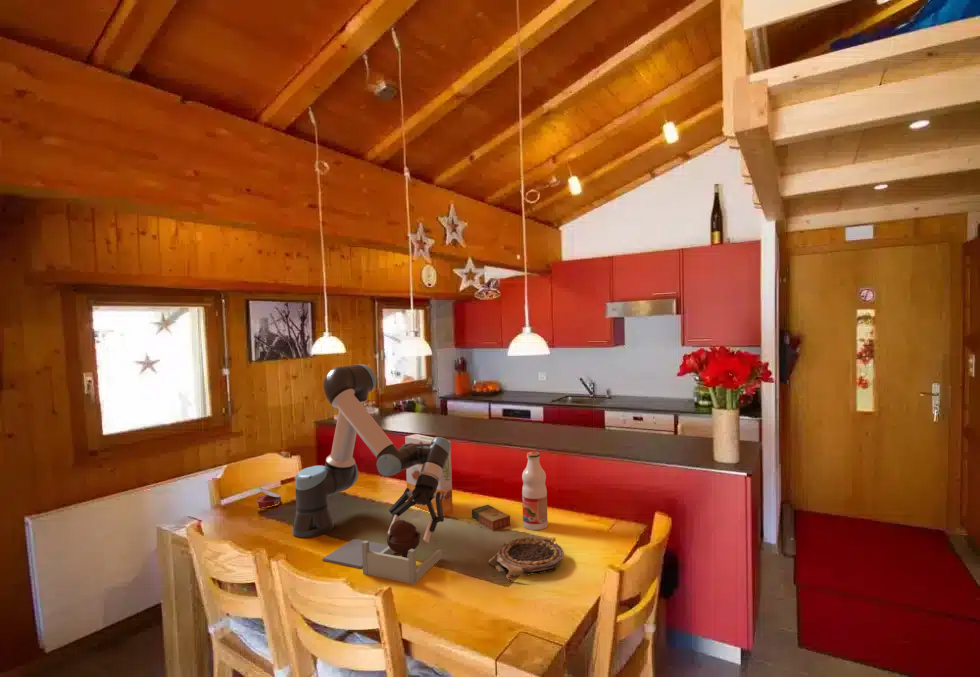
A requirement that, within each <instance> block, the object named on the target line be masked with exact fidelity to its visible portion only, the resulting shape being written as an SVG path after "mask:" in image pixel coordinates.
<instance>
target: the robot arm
mask: <svg viewBox="0 0 980 677" xmlns="http://www.w3.org/2000/svg"><path fill="white" fill-rule="evenodd" d="M376 385H377V376H376V374H375V373H374V370H373V368H371V367H370V366H368V365H367V364H358V363H357V364H352V365H345V366H337V367H333V368H332V369H330V370H329V371H328V372H327V373H326V374H325V376H324V378H323V382H322V386H323V393H324V396H325V398H326V399H327V401H328V403H329V404H330V405H331V406H332V407H333V408H337V409H338V415H337V418H336V419H337V420H336V426H335V430H334V435H333V441H332V445H331V446H332V447H331V451H330V454H329V455H328V456H326V458H325V464H324V465H322V464H321V465H320V464H319V465H312V466H308V467H305V468H303V469H301V470H299V471H298V472H297V474H296V475H295V484H294V488H295V504H296V505H295V507H296V512H295V517H294V520H293V521H294V522H293V524H292V527H291V529H292V531H291V532H292V535H293V534H294V535H293V536H294V537H299V538H313V537H314V538H315V537H318V536H322V535H324V534H327V533H329V532H330V531H332V530H333V529H334V525H335V524H334V521H335V520H334V519H333V517H332V514H331V511H330V508H329V497H331V496H334V495H337V494H338V493H341V492H344V491H346V490H349V489H350V488H352V487H353V486H354V485H355V484H356V482H357V481H358V477H359V469H358V465H357V464H356V460H355V458H354V457H353V456H354V449H355V443H356V441H357V440H356V438H357V436H358V437H359V438H361V440H362V441H363V443H364V444H365V445H366V446H367V447H368V448H369V450H370V451H371V453H372V454H373V456H375V458H376V459H377V461H376V468H377V471H378V473H379V474H380V475H381V476H382V477H390V476H394V475H397V474H398V473H401V472H403V471H405V470H406V469H408V468H410V467H412V466H414V465H417V464H423V466H422V469H421V471H420V476H419V477H418V479H417V482H416V485H415V489H414V490H409V488H407V487H406V488H405V490H404V492H403V493H402V495H401V496H400V497H399V498H398V499H397V500H396V501H395V502H394V504H393V505H392V506H391V507H390V508H389V509H388V512H389V513H390V514H391V518H390V521H389V525H390V526H389V527H388V531H387V536H388V535H390V534H391V532H390V528H391V525H392V524H393V523H394V522H395V521H398V520H401V518H400V516H401V515H402V514H404V513H405V512H406V511H407V510H409V509H410V508H411V507H412V506H413V505H415V504H416V503H417V504H418V505H420V504H422V505H426V504H427V507H428V509H429V512H430V513H429V514H430V517H431V519H429V520H428V523H427V527H426V529H425V532H424V535H423V538H422V541H424V542H425V543H426V544H429V542H430V539H431V536H432V533H435V530H436V527H437V525H438V523H440V522H441V523H442V522H444V519H445V518H444V517H445V516H444V517H443V509H442V497H443V496H442V494H441V493H440V492H437V493H435V492H436V490H437V487H438V484H439V481H440V478H441V475H442V472H443V469H444V466H445V463H446V461H447V458H448V456H449V452H450V448H451V449H452V444H450V443H451V441H450V440H449V439H446V438H444V437H441V436H435V437H433V440H432V441H431V444H414V443H409V444H405V443H403V444H402V445H401V446H400V447H399V448H397V446H395V444H394V443H393V441H392V440H391V439H390V438H389V437H388V435H387V434H386V432H385V431H384V430H383V429H382V428H381V427H380V425H379V423H378V422H376V420H375V419H374V418H373V416H372V415H371V413H369V411H368V410H367V409H366V408H365V406H364V405H363V404H364V403H366V402H367V401H368V397H369V393H371V392H372V391H374V389H376ZM449 441H450V442H449ZM411 495H412V496H411ZM409 497H410V498H409ZM434 497H435V499H436V507H437V516H436V513H435V511H434V508H433V505H432V502H431V500H432V499H433V498H434ZM408 498H409V499H408ZM413 499H414V501H413Z"/></svg>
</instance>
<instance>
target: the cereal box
mask: <svg viewBox="0 0 980 677" xmlns="http://www.w3.org/2000/svg"><path fill="white" fill-rule="evenodd" d="M433 438H434V437H432V436H429V435H422V434H418V433H415V434H411V435H407V436H404V440H405V441H404V442H405V443H404V444H409V443H414V444H431V441H432V440H433ZM448 441H449V442H450V444H451V440H448ZM451 445H452V444H451ZM422 466H423V464H417V465H414V466H412V467H410V468H408V469H405V470H406V472H405V474H406V488H409V490H414V489H415V485H416V482H417V479H418V477H419V476H420V471H421V469H422ZM452 474H453V473H452V447H451V448H450V452H449V456H448V458H447V461H446V463H445V466H444V469H443V472H442V475H441V478H440V481H439V484H438V487H437V490H436V492H435V493H437V492H440V493H441V494H442V496H443V497H442V509H443V516H444V517H446V516H449V515H451V514H453V513H454V510H453V509H454V506H453V483H452V482H453V479H452V478H453V477H452ZM411 496H412V495H411ZM409 498H410V497H409ZM409 498H408V499H409ZM413 501H414V499H413ZM431 502H432V505H433V508H434V511H435V513H436V515H437V507H436V499H435V497H434V498H433V499H432V500H431ZM413 506H415V507H417V508H420V509H422V510H421V511H423V510H425V511H428V512H429V509H428V507H427V504H426V505H422V504H420V505H418V504H417V503H416V504H415V505H413ZM415 507H414V508H415ZM417 508H416V509H417ZM420 509H419V510H420ZM425 511H424V512H425ZM428 512H427V513H428ZM450 513H451V514H450ZM448 514H449V515H448ZM445 515H446V516H445Z"/></svg>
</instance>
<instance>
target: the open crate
mask: <svg viewBox="0 0 980 677" xmlns="http://www.w3.org/2000/svg"><path fill="white" fill-rule="evenodd" d="M369 542H370V540H363V542H362V560H363V568H362V574H363V575H369V576H374V577H379V578H383V579H387V580H393V581H395V582H396V581H397V582H402V583H406V584H409V585H413V586H414V585H415V584H416V583H417V582H418V581H419V580H420V579H421V578H422V577H423V576H425V575H426V572H427V571H428V570H429V569H430V568H431V567H432V566H433V565H434V564H435V563H436V564H438V563H439V562H440V561H441V560H442V559H441V558H443V557H442V555H443V554H442V549H440V548H438V549H437V550H435V551H434V553H432V554H431V555H430V556H428V557H427V559H425V560H424V561H423V562H421V563H420V565H418V566H417V555H416V554H417V552H416V548H415V549H410V550H409V551H408V554H407V558H404V557H402V556H399V555H395V554H396V553H395V551H393V550H392V549H391V548H389V546H388V547H387V548H386V549H384V550H383V551H381V552H380V553H378V552H373V551H370V550H369ZM394 553H395V554H394ZM440 559H441V560H440ZM439 560H440V561H439ZM438 561H439V562H438ZM437 562H438V563H437ZM436 564H435V565H436ZM435 565H434V566H435ZM434 566H433V567H434ZM433 567H432V568H433ZM432 568H431V569H432ZM431 569H430V570H431ZM430 570H429V571H430ZM429 571H428V572H429ZM428 572H427V573H428Z"/></svg>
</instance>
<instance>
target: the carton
mask: <svg viewBox="0 0 980 677" xmlns="http://www.w3.org/2000/svg"><path fill="white" fill-rule="evenodd" d="M471 519H473V520H474V519H475V521H476V522H478V523H479V522H480V523H479V524H482V526H484V525H485V527H486V528H488V529H489V530H491V531H492V532H494V531H497V530H500V529H504V528H507V527H510V526H511V515H509V514H507V513H505V512H503V511H501V510H500V509H497V508H495V507H494V506H492V505H490V504H486V505H481V506H478V507H475V508H474V507H473V508H472V509H471Z"/></svg>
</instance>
